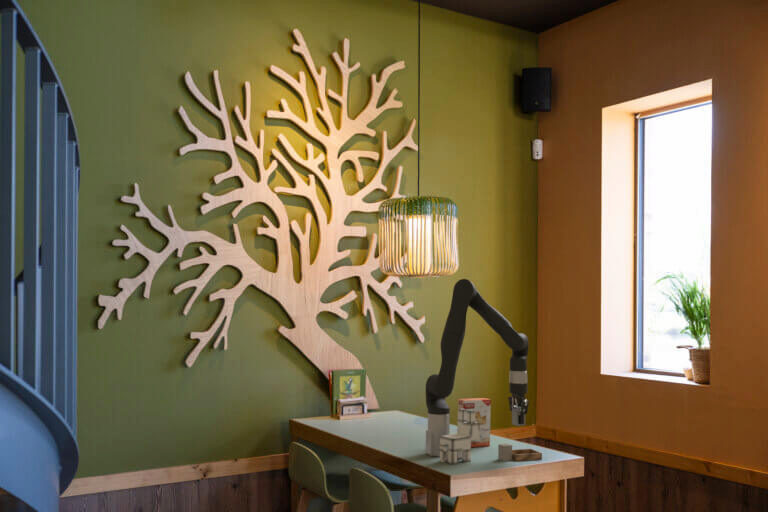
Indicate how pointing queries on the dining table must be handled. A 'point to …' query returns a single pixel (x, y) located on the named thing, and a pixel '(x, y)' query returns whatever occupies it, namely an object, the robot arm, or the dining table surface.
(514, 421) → the grey rectangular block
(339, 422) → the dining table surface
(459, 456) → the toy llama
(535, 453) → the bin
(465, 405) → the cracker box
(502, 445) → the beige grey block
